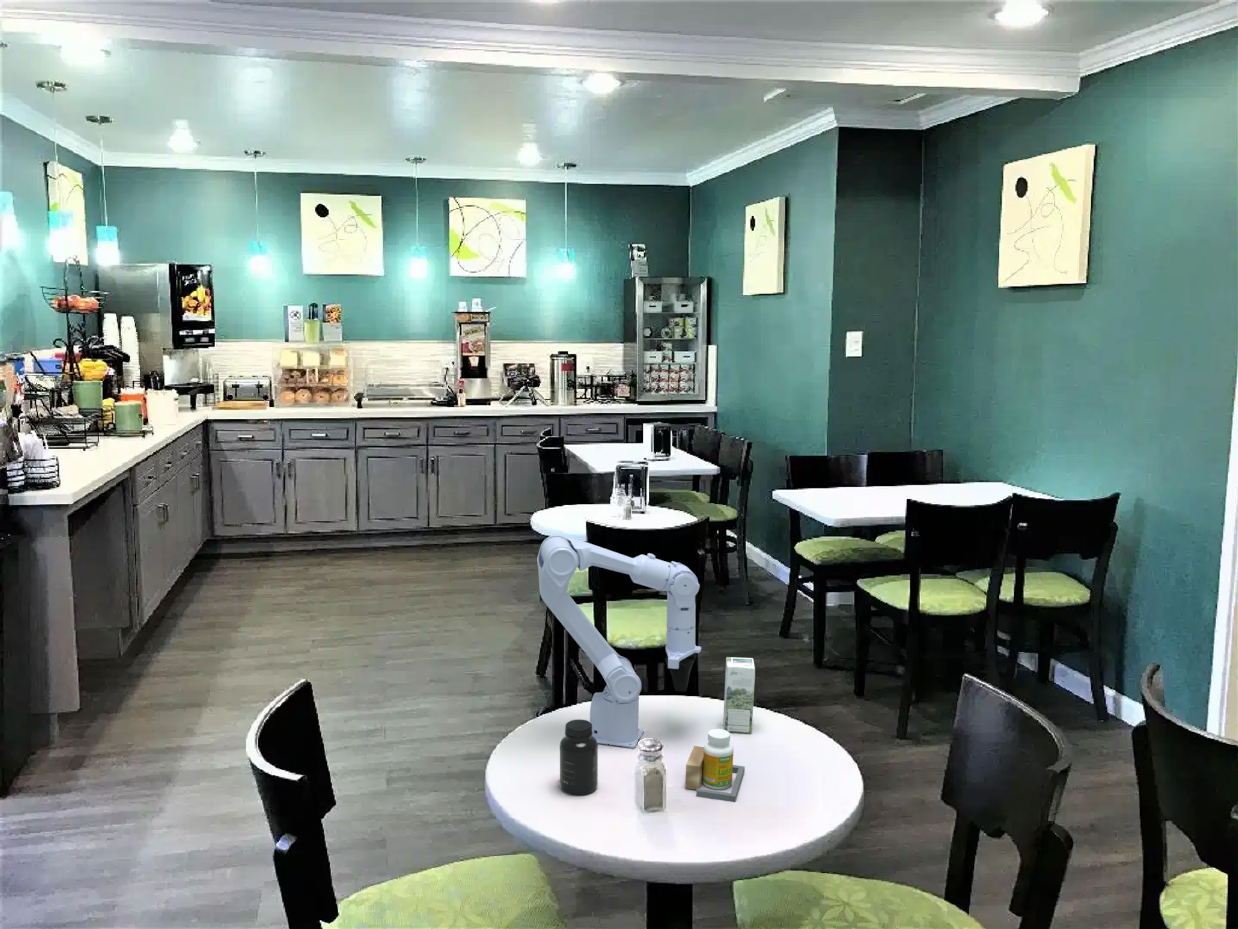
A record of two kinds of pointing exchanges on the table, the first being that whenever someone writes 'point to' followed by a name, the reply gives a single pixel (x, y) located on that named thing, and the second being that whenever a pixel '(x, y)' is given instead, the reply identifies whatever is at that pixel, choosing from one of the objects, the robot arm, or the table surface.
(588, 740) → the supplement bottle
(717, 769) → the supplement bottle
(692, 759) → the bar
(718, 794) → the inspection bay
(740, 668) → the syrup box
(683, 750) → the table surface
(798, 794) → the table surface
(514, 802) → the table surface
